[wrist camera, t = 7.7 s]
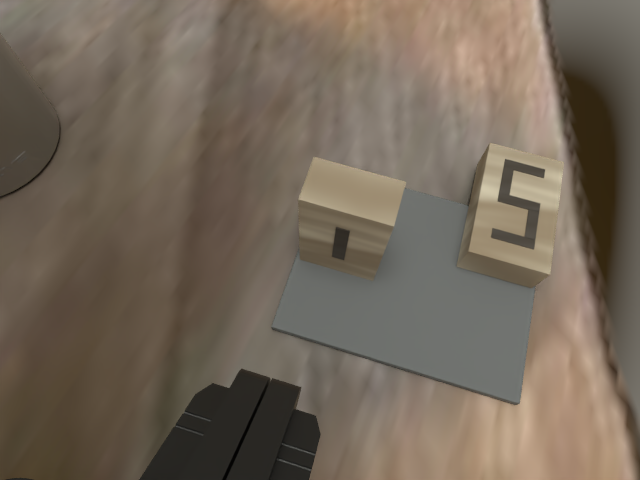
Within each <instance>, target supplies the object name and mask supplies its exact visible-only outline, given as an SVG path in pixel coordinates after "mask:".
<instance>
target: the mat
mask: <svg viewBox="0 0 640 480" xmlns="http://www.w3.org/2000/svg"><path fill="white" fill-rule="evenodd" d="M468 208H469V206H468V205H464V204H461V203H457V202H453V201H450V200H446V199H443V198H439V197H435V196H432V195H428V194H424V193H421V192H417V191H414V190H410V189H406V188H404V191H403V195H402V199H401V203H400V206H399V210H398V214H397V217H396V221H395V225H394V228H393V230H392V233H391V236H390V238H389V241H388V243H387V246H386V249H385V251H384V254H383V256H382V259H381V262H380V264H379V267H378V269H377V272H376V275H375V277H374V280H373V281H371V280H367V279H364V278H361V277H357V276H354V275H351V274H347V273H344V272H340V271H337V270H334V269H330V268H327V267H323V266H320V265H317V264H313V263H310V262H307V261H303V260H300V248H299V250H298V252H297V255H296V258H295V261H294V264H293V267H292V270H291V272H290V275H289V278H288V281H287V284H286V287H285V290H284V292H283V295H282V298H281V301H280V304H279V307H278V310H277V312H276V315H275V318H274V321H273V324H272V329H273V330H276V331H279V332H283V333H286V334H289V335H292V336H295V337H299V338H302V339H305V340H308V341H312V342H315V343H318V344H321V345H324V346H328V347H331V348H334V349H337V350H341V351H344V352H347V353H350V354H353V355H357V356H360V357H363V358H366V359H369V360H373V361H376V362H379V363H382V364H386V365H389V366H392V367H395V368H398V369H402V370H405V371H408V372H411V373H415V374H418V375H421V376H424V377H427V378H431V379H434V380H437V381H440V382H443V383H447V384H450V385H453V386H456V387H460V388H463V389H466V390H469V391H472V392H476V393H479V394H482V395H485V396H489V397H492V398H495V399H498V400H501V401H505V402H508V403H511V404H514V405H517V404H520V397H521V390H522V383H523V375H524V368H525V360H526V353H527V345H528V338H529V330H530V323H531V315H532V308H533V300H534V293H535V286H534V287H533V288H529V287H525V286H522V285H518V284H515V283H511V282H508V281H504V280H501V279H497V278H494V277H490V276H487V275H484V274H480V273H477V272H473V271H470V270H466V269H463V268H459V267H456V266H457V261H458V257H459V252H460V247H461V242H462V237H463V232H464V227H465V223H466V218H467V213H468Z"/></svg>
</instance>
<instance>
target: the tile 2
mask: <svg viewBox="0 0 640 480" xmlns="http://www.w3.org/2000/svg"><path fill="white" fill-rule="evenodd" d="M563 166H564V162H561V161H557V160H553V159H549V158H546V157H542V156H538V155H534V154H530V153H527V152H523V151H519V150H515V149H511V148H508V147H504V146H500V145H496V144H492V143H490V144H489V145H488V147H487V149H486V151H485V152H484V154H483V156H482V157H481V159H480V161H479V163H478V164H477V169H476V174H475V179H474V184H473V189H472V193H471V198H470V203H469V208H468V213H467V218H466V223H465V227H464V232H463V237H462V242H461V247H460V252H459V257H458V261H457V266H456V267H459V268H463V269H466V270H470V271H473V272H477V273H480V274H484V275H487V276H490V277H494V278H497V279H501V280H504V281H508V282H511V283H515V284H518V285H522V286H525V287H529V288H533V287H534V286H536V285H537V284H538V283H540V282H541V281H542V280H544V279H545V278H546V277H548V276H549V275H550V272H551V264H552V256H553V248H554V240H555V232H556V223H557V215H558V207H559V199H560V191H561V183H562V174H563Z"/></svg>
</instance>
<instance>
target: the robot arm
mask: <svg viewBox="0 0 640 480" xmlns="http://www.w3.org/2000/svg"><path fill="white" fill-rule="evenodd" d="M59 127H60V125H59V121H58V117H57V113H56V112H55V110H54V108H53V107H52V105H51V104H50V102H49V101H48V99H47V98H46V97H45V95H44V94H43V92H42V91H41V90H40V88H39V87H38V85H37V84H36V83H35V81H34V80H33V78H32V77H31V76H30V74H29V73H28V71H27V70H26V68H25V67H24V65H23V64H22V63H21V61H20V60H19V58H18V57H17V56H16V54H15V53H14V51H13V50H12V49H11V47H10V46H9V44H8V43H7V42H6V40H5V39H4V37H3V36H2V35H1V33H0V196H3V195H5V194H8V193H10V192H13V191H14V190H16V189H18V188H20V187H21V186H23V185H25V184H26V183H28V182H29V181H30V180H31V179H33V178H34V177H35V176H36V175H37V174H38V173H40V171H41V170H42V169H43V168H44V167H45V165H46V164H47V163H48V162H49V160H50V159H51V157H52V155H53V153H54V151H55V149H56V146H57V143H58V139H59ZM300 391H301V387H298V386H295V385H292V384H289V383H286V382H283V381H279V380H276V379H273V378H272V380H271V381H270V378H269V377H266V376H263V375H260V374H257V373H253V372H250V371H247V370H244V369H241V370H240V371H239V372H238V374H237V376H236V378H235V379H234V381H233V383H232V385H231V387H230V388H226V387H223V386H220V385H217V384H214V383H212V384H211V385H209V386H208V387H206V388H205V389H203V390H202V391H200V392H198V393H197V394H195V396H194V397H193V399H192V400H191V402H190V403H189V405H188V406H187V408H186V410H185V412H184V414H182V416H181V417H180V419H179V420H178V422H177V423H176V426H175V428H173V429H172V431H171V432H170V434H169V435H168V437H167V438H166V440H165V441H164V443H163V444H162V446H161V448H160V449H159V451H158V452H157V454H156V455H155V457H154V458H153V460H152V461H151V463H150V464H149V466H148V467H147V469H146V470H145V472H144V473H143V475H142V476H141V478H140V479H139V480H309V477H310V473H311V469H312V466H313V462H314V458H315V454H316V450H317V446H318V442H319V438H320V431H319V427H318V423H317V418H316V416H315V415H312V414H308V413H305V412H302V411H299V410H296V406H297V402H298V398H299V395H300ZM7 480H32V479H27V478H12V479H7Z"/></svg>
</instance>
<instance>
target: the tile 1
mask: <svg viewBox="0 0 640 480" xmlns="http://www.w3.org/2000/svg"><path fill="white" fill-rule="evenodd" d="M405 184H406V182H404V181H400V180H397V179H393V178H389V177H386V176H382V175H378V174H375V173H371V172H367V171H364V170H360V169H356V168H353V167H349V166H346V165H342V164H338V163H335V162H331V161H327V160H324V159H320V158H316V157H314V158H313V161H312V163H311V166H310V169H309V172H308V174H307V177H306V180H305V182H304V185H303V188H302V191H301V193H300V196H299V199H298V207H299V248H300V260H303V261H307V262H310V263H313V264H317V265H320V266H323V267H327V268H330V269H334V270H337V271H340V272H344V273H347V274H351V275H354V276H357V277H361V278H364V279H367V280H371V281H373V280H374V277H375V275H376V272H377V269H378V267H379V264H380V262H381V259H382V256H383V254H384V251H385V249H386V246H387V243H388V241H389V238H390V236H391V233H392V230H393V228H394V225H395V221H396V217H397V214H398V210H399V206H400V203H401V199H402V195H403V191H404V188H405Z"/></svg>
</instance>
